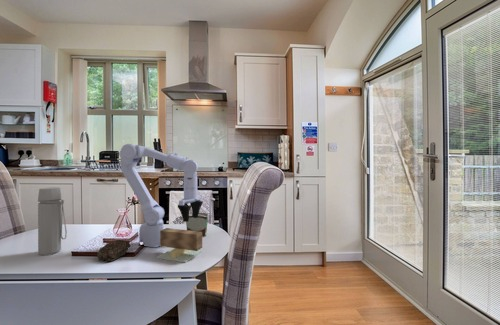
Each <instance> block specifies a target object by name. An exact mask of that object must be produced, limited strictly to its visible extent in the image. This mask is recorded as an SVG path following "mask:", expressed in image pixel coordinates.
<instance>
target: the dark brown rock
mask: <svg viewBox="0 0 500 325" xmlns="http://www.w3.org/2000/svg"><path fill="white" fill-rule="evenodd" d="M130 247H131V244H130V242H129V241H128V240H121V239H116V240H115V241H112V242H111V241H110V242H107V243H106V244H105V245H104V246H102V247H100V248H99V249H98V251H97V252H96V253H97V254H96V255H97V261H99V262H106V263H109V262H113V261H115V260H117V259H118V258H120V257H123V256H125V254H126V253H127V251H128V250H129V248H130Z"/></svg>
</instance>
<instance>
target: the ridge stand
mask: <svg viewBox="0 0 500 325" xmlns="http://www.w3.org/2000/svg"><path fill="white" fill-rule="evenodd" d="M203 250H204V249H199V250H198V251H192V250H184V249H177V248H172V249H169V250H167V251H166V252H163V253H162V254H160V255H158V256H157V259H161V260H166V261H173V262H180V263H188V262H189V261H191V260H192V259H193V258H195V257H196V256H198V255H199V254H201V253H203Z"/></svg>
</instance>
